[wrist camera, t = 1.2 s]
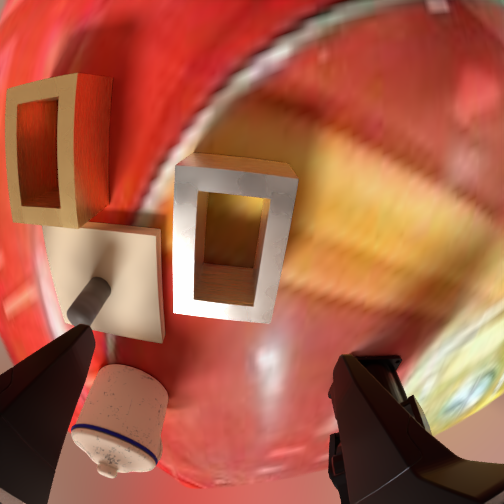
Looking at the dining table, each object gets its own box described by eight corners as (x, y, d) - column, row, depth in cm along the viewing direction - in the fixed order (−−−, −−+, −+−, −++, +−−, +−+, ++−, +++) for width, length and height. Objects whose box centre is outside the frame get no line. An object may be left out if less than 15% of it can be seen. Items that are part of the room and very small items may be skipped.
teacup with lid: (82, 364, 27) (44, 446, 17) (142, 355, 26) (108, 458, 16) (138, 421, 32) (120, 494, 22) (197, 418, 31) (186, 502, 21)
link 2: (193, 152, 17) (175, 165, 13) (288, 163, 18) (298, 178, 14) (187, 274, 22) (174, 312, 18) (267, 284, 22) (270, 323, 18)
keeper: (160, 229, 20) (135, 266, 15) (165, 334, 24) (151, 379, 20) (49, 218, 19) (11, 246, 15) (70, 315, 24) (46, 351, 19)
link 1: (46, 87, 15) (7, 89, 11) (113, 77, 15) (77, 72, 11) (47, 200, 19) (13, 222, 15) (109, 204, 19) (78, 229, 15)
